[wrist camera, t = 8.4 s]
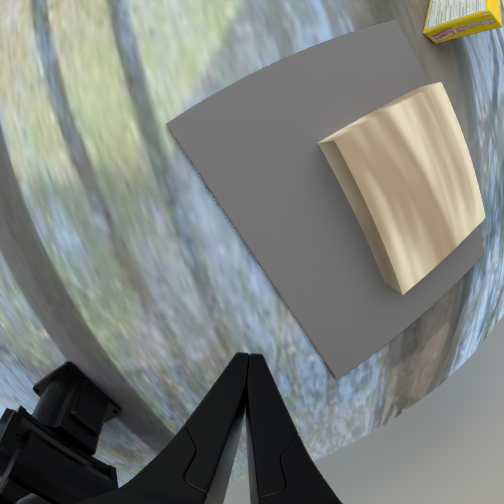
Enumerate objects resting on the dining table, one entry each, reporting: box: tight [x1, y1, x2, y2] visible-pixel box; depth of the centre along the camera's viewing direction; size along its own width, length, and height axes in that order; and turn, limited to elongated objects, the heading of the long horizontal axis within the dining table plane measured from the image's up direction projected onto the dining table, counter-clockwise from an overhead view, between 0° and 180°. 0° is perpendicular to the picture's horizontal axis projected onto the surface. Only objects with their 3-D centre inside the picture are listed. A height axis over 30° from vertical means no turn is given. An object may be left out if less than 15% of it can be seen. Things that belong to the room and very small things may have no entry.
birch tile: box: [318, 82, 485, 295], centre depth 19 cm, size 2×12×11 cm
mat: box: [166, 20, 484, 379], centre depth 20 cm, size 20×24×1 cm
